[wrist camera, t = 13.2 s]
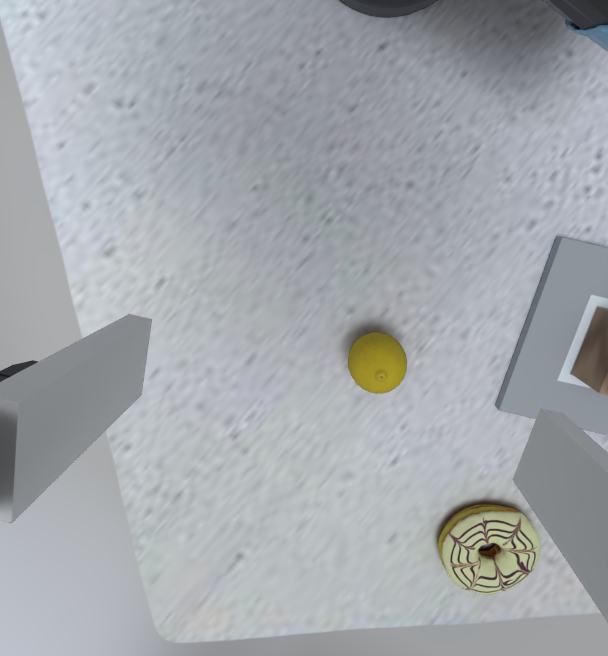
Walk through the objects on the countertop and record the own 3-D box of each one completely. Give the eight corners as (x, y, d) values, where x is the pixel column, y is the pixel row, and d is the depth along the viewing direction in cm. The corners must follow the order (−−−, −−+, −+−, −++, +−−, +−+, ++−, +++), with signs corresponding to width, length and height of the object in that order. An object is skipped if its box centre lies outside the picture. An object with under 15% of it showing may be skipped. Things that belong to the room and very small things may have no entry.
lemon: (336, 353, 48) (337, 381, 40) (370, 313, 47) (377, 334, 39) (376, 384, 49) (385, 418, 41) (411, 345, 47) (427, 372, 40)
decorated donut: (538, 563, 53) (554, 589, 50) (447, 582, 55) (455, 609, 51) (521, 487, 51) (536, 509, 47) (426, 509, 52) (433, 532, 49)
